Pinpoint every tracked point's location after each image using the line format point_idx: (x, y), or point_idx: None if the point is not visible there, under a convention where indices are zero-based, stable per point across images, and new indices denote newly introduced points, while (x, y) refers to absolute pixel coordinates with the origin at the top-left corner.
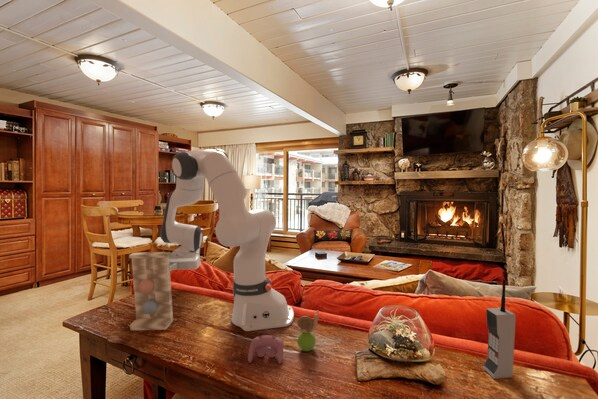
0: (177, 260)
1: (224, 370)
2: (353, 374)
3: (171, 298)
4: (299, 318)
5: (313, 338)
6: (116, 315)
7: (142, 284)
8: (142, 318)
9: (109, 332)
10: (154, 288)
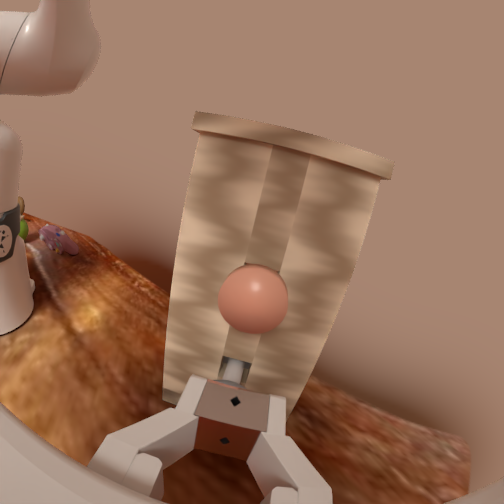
0: (67, 500)
1: (106, 258)
2: None
3: (167, 334)
4: (22, 201)
5: None
6: (387, 474)
7: None
8: None
9: (333, 396)
10: None
